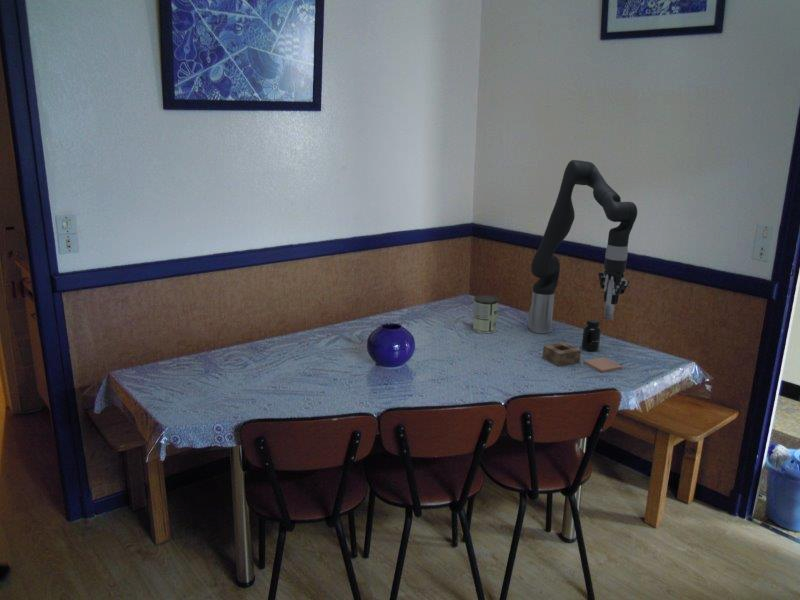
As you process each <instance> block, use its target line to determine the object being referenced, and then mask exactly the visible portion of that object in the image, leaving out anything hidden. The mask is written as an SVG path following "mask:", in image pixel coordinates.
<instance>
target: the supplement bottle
mask: <svg viewBox="0 0 800 600" xmlns="http://www.w3.org/2000/svg"><path fill="white" fill-rule="evenodd" d="M586 321H587V322H586V325H585V326H584V327H583V332H582V340H581V349H582V350H584V351H586V352H594V353H595V352H598V351H599V349H600V343H601V334H602V329H601V327H600V323H601V322H600V320H599V319H595V318H588V319H587V320H586Z"/></svg>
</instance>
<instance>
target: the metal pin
mask: <svg viewBox="0 0 800 600" xmlns="http://www.w3.org/2000/svg"><path fill="white" fill-rule="evenodd" d="M615 286H617V285H615ZM616 291H617V288H616ZM612 295H613V289H612V281H611V279H609V281H608V289H607V297H606V302H605V306H604V314H603V319H604V320H607V321H612V320H613V319H614V311H615V306H616V304H615V305H613V304H611V301H612Z"/></svg>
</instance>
